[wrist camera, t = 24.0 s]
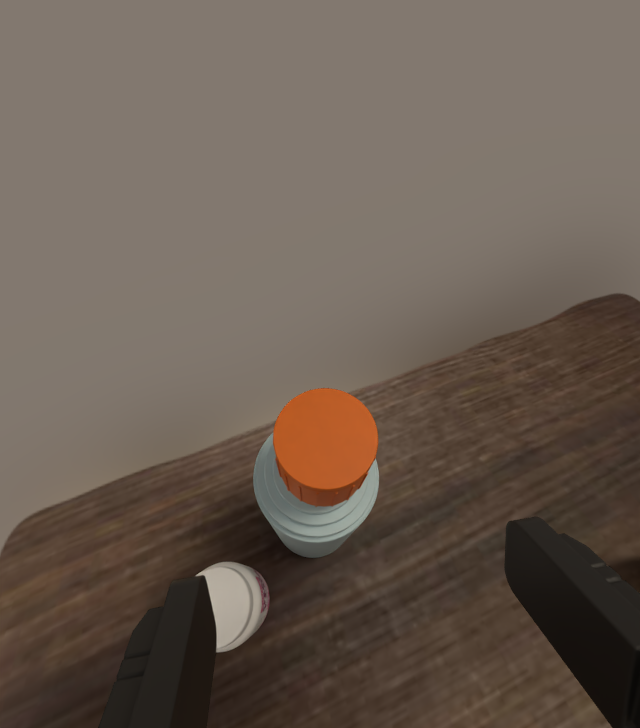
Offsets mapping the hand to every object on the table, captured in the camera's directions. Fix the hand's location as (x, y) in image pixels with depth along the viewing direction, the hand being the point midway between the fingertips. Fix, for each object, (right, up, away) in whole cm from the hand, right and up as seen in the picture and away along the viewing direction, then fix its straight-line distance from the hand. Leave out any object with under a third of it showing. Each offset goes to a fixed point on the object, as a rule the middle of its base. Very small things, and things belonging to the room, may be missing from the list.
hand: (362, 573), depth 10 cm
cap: (-1, +1, +8) cm, 8 cm away
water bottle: (-2, -7, +22) cm, 23 cm away
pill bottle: (-7, -12, +19) cm, 24 cm away
